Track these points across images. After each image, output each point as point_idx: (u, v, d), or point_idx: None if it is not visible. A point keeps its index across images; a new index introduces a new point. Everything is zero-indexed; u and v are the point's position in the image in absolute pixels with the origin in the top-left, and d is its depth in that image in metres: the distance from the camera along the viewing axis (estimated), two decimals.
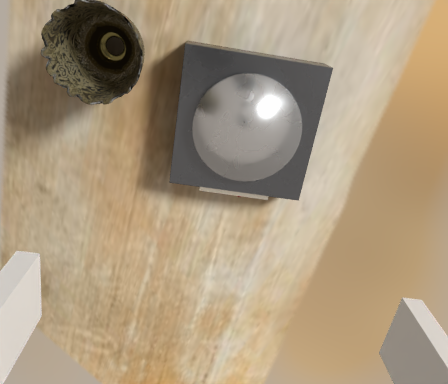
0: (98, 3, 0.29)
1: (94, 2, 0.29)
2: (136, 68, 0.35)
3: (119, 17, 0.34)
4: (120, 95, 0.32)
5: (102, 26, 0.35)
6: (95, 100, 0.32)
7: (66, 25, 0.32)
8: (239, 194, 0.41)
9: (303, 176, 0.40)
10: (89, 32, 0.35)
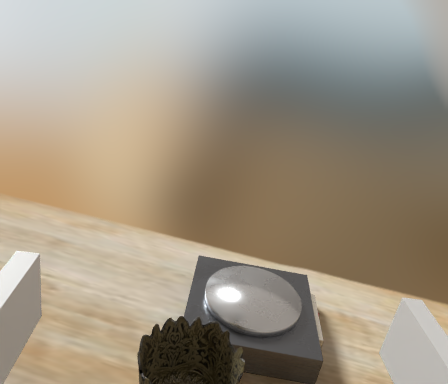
0: (143, 341, 0.29)
1: (141, 345, 0.28)
2: (204, 375, 0.33)
3: None
4: (232, 346, 0.31)
5: None
6: (240, 364, 0.29)
7: None
8: (316, 312, 0.43)
9: (285, 271, 0.48)
10: None
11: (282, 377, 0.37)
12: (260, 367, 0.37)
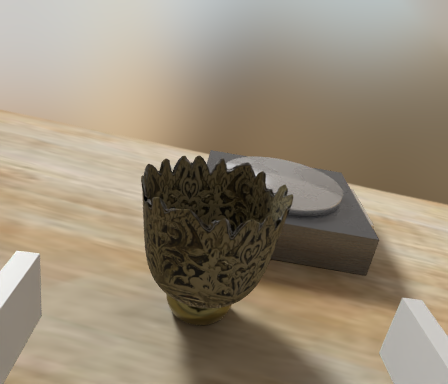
0: (148, 171, 0.20)
1: (147, 173, 0.20)
2: None
3: None
4: (270, 190, 0.22)
5: None
6: (284, 202, 0.21)
7: None
8: (358, 202, 0.35)
9: (315, 168, 0.40)
10: None
11: (325, 266, 0.29)
12: (296, 253, 0.29)
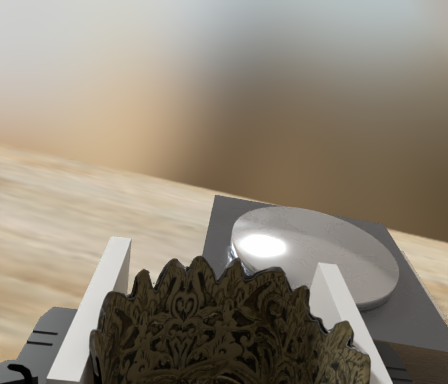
0: (108, 306, 0.11)
1: (104, 313, 0.11)
2: None
3: None
4: (318, 320, 0.13)
5: None
6: (352, 361, 0.12)
7: None
8: (415, 275, 0.26)
9: (350, 219, 0.31)
10: None
11: None
12: None
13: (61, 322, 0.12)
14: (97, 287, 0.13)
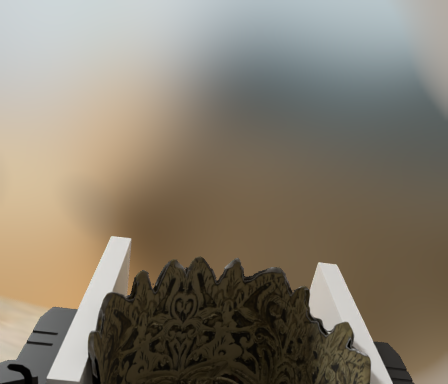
0: (107, 307, 0.11)
1: (103, 315, 0.11)
2: None
3: None
4: (318, 321, 0.13)
5: None
6: (352, 363, 0.11)
7: None
8: None
9: None
10: None
11: None
12: None
13: (61, 322, 0.12)
14: (97, 287, 0.13)
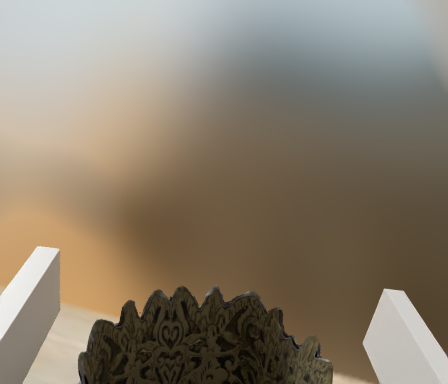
0: (97, 333, 0.13)
1: (93, 339, 0.13)
2: None
3: None
4: (291, 338, 0.15)
5: None
6: (318, 371, 0.13)
7: None
8: None
9: None
10: None
11: None
12: None
13: None
14: (4, 306, 0.11)
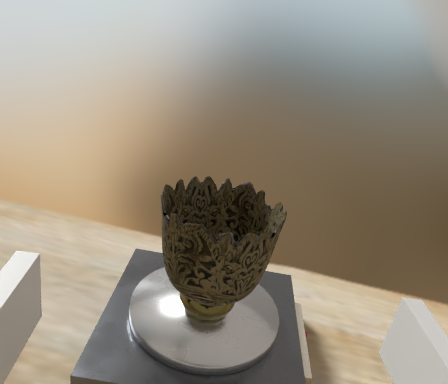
0: (166, 190, 0.25)
1: (165, 192, 0.24)
2: None
3: None
4: (268, 206, 0.26)
5: None
6: (280, 217, 0.25)
7: None
8: (302, 330, 0.28)
9: None
10: None
11: None
12: None
13: None
14: None
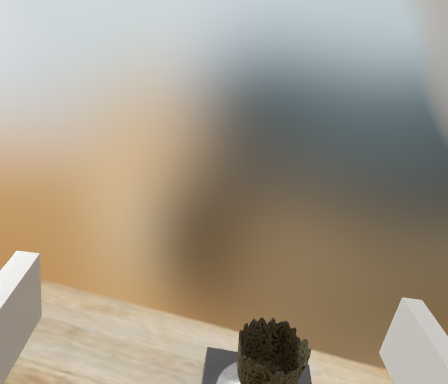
0: (240, 334, 0.42)
1: (240, 337, 0.42)
2: (275, 360, 0.46)
3: None
4: (298, 338, 0.44)
5: None
6: (306, 350, 0.42)
7: None
8: None
9: None
10: None
11: None
12: None
13: None
14: None
